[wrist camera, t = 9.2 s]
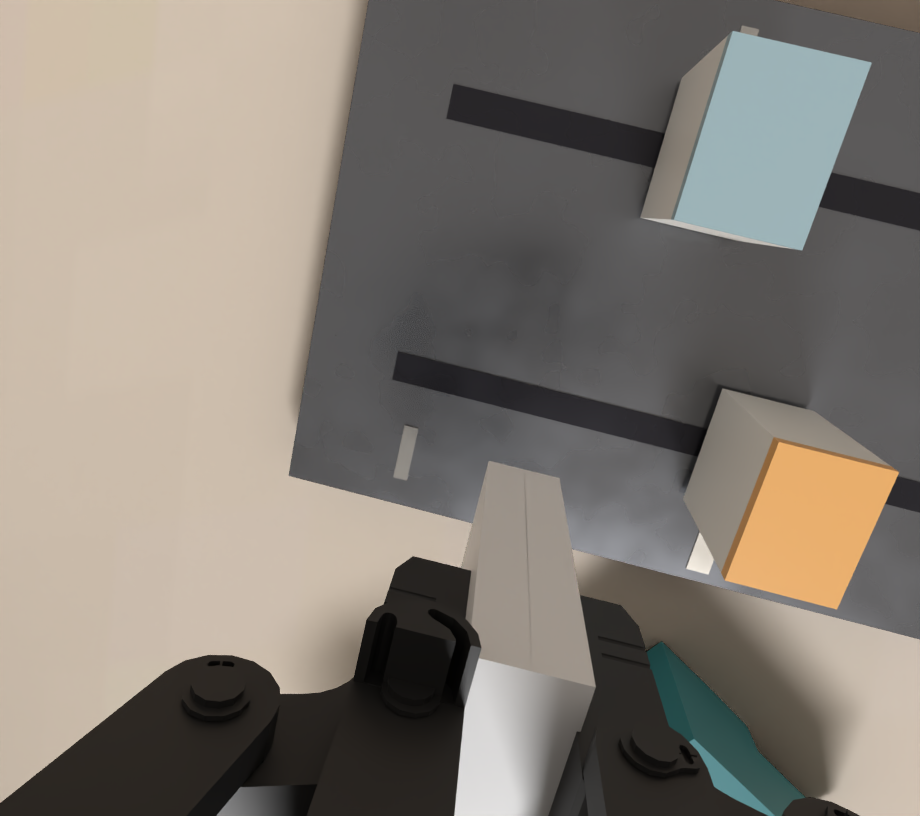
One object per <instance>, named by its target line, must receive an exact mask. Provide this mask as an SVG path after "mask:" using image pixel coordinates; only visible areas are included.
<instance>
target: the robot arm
mask: <svg viewBox="0 0 920 816" xmlns="http://www.w3.org/2000/svg"><path fill="white" fill-rule="evenodd" d="M644 650H645V646H644V642H643V639H642V636H641V633H640V629H639V626H638V625H637V624H636V623H635V622H634V620H633V619H632V618H631V617H630V616H629V614H628V613H627V612H626V611H625V610H624V609H623V607H622V606H621V605H617V604H613V603H609V602H605V601H601V600H597V599H593V598H589V597H585V596H581V595H580V593H579V588H578V582H577V576H576V570H575V564H574V559H573V553H572V547H571V541H570V536H569V530H568V524H567V518H566V513H565V507H564V501H563V495H562V490H561V484H560V478H557V477H553V476H549V475H545V474H541V473H537V472H533V471H529V470H525V469H521V468H517V467H512V466H508V465H504V464H500V463H496V462H492V461H489V462H488V466H487V470H486V474H485V477H484V481H483V485H482V489H481V493H480V497H479V501H478V504H477V508H476V512H475V516H474V520H473V524H472V528H471V531H470V535H469V539H468V543H467V547H466V551H465V554H464V558H463V562H462V566H461V568H458V567H454V566H450V565H446V564H442V563H438V562H434V561H430V560H426V559H422V558H418V557H414V556H413V557H411V558H410V559H409V560H407V561H406V562H404V563H403V564H402V565H400V566H399V567H397V568H396V569H395V572H394V575H393V578H392V581H391V584H390V587H389V590H388V593H387V596H386V599H385V602H384V605H382V606H380V607H377V608H375V610H374V611H373V612H372V613H371V615H370V616H369V617H368V619H367V620H366V625H365V629H364V634H363V639H362V643H361V648H360V652H359V657H358V661H357V666H356V670H355V675H354V677H353V678H352V679H351V680H350V681H349V682H347V683H345V684H343V685H341V686H339V687H338V688H335V689H332V690H328V691H324V692H321V693H310V694H280V687H279V686H278V684H277V683H276V681H275V679H274V678H273V676H272V675H271V673H270V672H269V671H267V670H266V669H264V668H263V667H261V666H260V665H258V664H257V663H255V662H254V661H250V660H246V659H243V658H239V657H236V656H232V655H207V656H202V657H198V658H194V659H190V660H185V661H183V662H182V663H180V664H178V665H176V666H174V667H173V668H171V669H169V670H167V671H165V672H164V673H163V674H162V675H160V676H159V677H158V678H157V679H155V680H154V681H153V682H152V683H150V684H149V685H148V686H147V687H145V688H144V689H143V690H142V691H140V692H139V693H138V694H137V695H135V696H134V697H133V698H132V699H130V700H129V701H128V702H127V703H125V704H124V705H123V706H122V707H120V708H119V709H118V710H117V711H115V712H114V713H113V714H111V715H110V716H109V717H108V718H106V719H105V720H104V721H103V722H101V723H100V724H99V725H98V726H96V727H95V728H94V729H93V730H91V731H90V732H89V733H88V734H86V735H85V736H84V737H83V738H81V739H80V740H79V741H78V742H76V743H75V744H74V745H73V746H71V747H70V748H69V749H68V750H66V751H65V752H64V753H63V754H61V755H60V756H59V757H58V758H56V759H55V760H54V761H53V762H51V763H50V764H49V765H48V766H46V767H45V768H44V769H43V770H41V771H40V772H39V773H37V774H36V775H35V776H34V777H32V778H31V779H30V780H29V781H27V782H26V783H25V784H24V785H22V786H21V787H20V788H19V789H17V790H16V791H15V792H14V793H12V794H11V795H10V796H9V797H7V798H6V799H5V800H4V801H2V802H1V803H0V816H768V815H766V814H764V813H762V812H760V811H758V810H756V809H754V808H752V807H750V806H748V805H746V804H744V803H742V802H740V801H738V800H736V799H734V798H732V797H730V796H729V795H727V794H725V793H723V792H722V791H720V790H718V789H717V788H715V787H714V785H713V782H712V779H711V776H710V773H709V771H708V768H707V766H706V764H705V763H704V761H703V759H702V757H701V756H700V754H699V752H698V751H697V750H696V749H695V748H694V747H693V746H692V745H691V744H690V742H689V741H688V740H687V739H686V738H685V737H684V736H683V735H681V734H680V733H678V732H677V731H675V730H674V729H672V728H671V727H669V725H668V721H667V718H666V715H665V711H664V708H663V705H662V702H661V698H660V695H659V692H658V688H657V685H656V682H655V679H654V675H653V672H652V670H651V669H650V662H649V659H648V656H647V652H646V651H644ZM782 816H859V815H857V814H856V813H854V812H852V811H850V810H848V809H845V808H844V807H841V806H839V805H837V804H835V803H833V802H829V801H825V800H820V799H816V798H811V797H807V798H801V799H795V800H793V801H792V802H791V803H790V804H789V805H788V806H787V808H786V809H785V810H784V812H783V814H782Z"/></svg>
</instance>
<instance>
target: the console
mask: <svg viewBox="0 0 920 816" xmlns="http://www.w3.org/2000/svg"><path fill="white" fill-rule="evenodd" d="M732 31H736V32H740V33H744V34H749V35H753V36H758V37H762V38H766V39H771V40H775V41H779V42H784V43H788V44H793V45H797V46H801V47H806V48H810V49H814V50H819V51H823V52H828V53H832V54H836V55H841V56H845V57H850V58H854V59H858V60H863V61H867V62H871V63H872V64H871V66H870V69H869V72H868V74H867V77H866V80H865V82H864V85H863V88H862V91H861V93H860V96H859V99H858V101H857V104H856V107H855V109H854V112H853V115H852V118H851V120H850V123H849V126H848V128H847V131H846V134H845V136H844V139H843V142H842V145H841V147H840V150H839V153H838V155H837V158H836V161H835V164H834V166H833V169H832V172H831V174H830V177H829V180H828V182H827V185H826V188H825V191H824V193H823V196H822V199H821V201H820V204H819V207H818V209H817V212H816V215H815V218H814V220H813V223H812V226H811V228H810V231H809V234H808V236H807V239H806V242H805V245H804V247H803V250H796V249H789V248H782V247H775V246H769V245H762V244H755V243H748V242H741V241H735V240H731V239H727V238H723V237H719V236H714V235H710V234H706V233H702V232H698V231H694V230H689V229H685V228H681V227H677V226H673V225H668V224H664V223H660V222H656V221H652V220H648V219H643V218H640V217H641V213H642V210H643V207H644V203H645V200H646V196H647V193H648V190H649V186H650V183H651V180H652V176H653V173H654V170H655V166H656V163H657V159H658V156H659V153H660V149H661V146H662V143H663V139H664V136H665V132H666V129H667V126H668V122H669V119H670V116H671V112H672V109H673V106H674V102H675V99H676V95H677V92H678V89H679V85H680V82H681V79H682V77H683V76H684V75H685V74H686V73H688V72H689V71H690V70H691V69H692V68H693V67H694V66H695V65H696V64H697V63H698V62H700V61H701V60H702V59H703V58H704V57H705V56H706V55H707V54H708V53H709V52H710V51H711V50H713V49H714V48H715V47H716V46H717V45H718V44H719V43H720V42H721V41H722V40H723V39H725V38H726V37H727V36H728V35H729V34H730V33H731V32H732ZM722 388H723V389H727V390H731V391H735V392H739V393H743V394H747V395H751V396H755V397H759V398H763V399H767V400H771V401H775V402H779V403H783V404H787V405H791V406H796V407H800V408H804V409H808V410H812V411H815V412H816V413H818V414H819V415H820V416H822V417H823V418H825V419H826V420H827V421H829V422H830V423H832V424H833V425H834V426H836V427H837V428H839V429H840V430H841V431H843V432H844V433H845V434H847V435H848V436H850V437H851V438H852V439H854V440H855V441H857V442H858V443H859V444H861V445H862V446H864V447H865V448H866V449H868V450H869V451H871V452H872V453H873V454H875V455H876V456H878V457H879V458H880V459H882V460H883V461H885V462H886V463H887V464H889V465H890V466H891V467H893V468H894V469H896V470H897V471H898V472H899V474H898V476H897V478H896V481H895V483H894V485H893V487H892V489H891V492H890V494H889V496H888V498H887V500H886V503H885V505H884V507H883V509H882V511H881V514H880V516H879V518H878V520H877V522H876V525H875V527H874V529H873V531H872V533H871V536H870V538H869V540H868V542H867V544H866V547H865V549H864V551H863V553H862V555H861V558H860V560H859V562H858V564H857V566H856V569H855V571H854V573H853V575H852V577H851V580H850V582H849V584H848V586H847V588H846V591H845V593H844V595H843V597H842V599H841V602H840V604H839V606H838V608H837V609H833V608H829V607H825V606H822V605H818V604H814V603H810V602H806V601H802V600H798V599H794V598H791V597H787V596H783V595H779V594H775V593H771V592H767V591H764V590H760V589H756V588H752V587H748V586H744V585H740V584H737V583H733V582H729V581H725V580H724V578H723V576H722V574H721V572H720V570H719V568H718V566H717V564H716V562H715V560H714V558H713V556H712V554H711V553H710V551H709V549H708V547H707V545H706V543H705V541H704V539H703V537H702V535H701V533H700V531H699V529H698V527H697V525H696V523H695V521H694V519H693V517H692V515H691V513H690V511H689V510H688V508H687V506H686V504H685V502H684V500H683V498H684V495H685V492H686V489H687V486H688V484H689V481H690V478H691V475H692V472H693V470H694V467H695V464H696V461H697V458H698V456H699V453H700V450H701V447H702V444H703V442H704V439H705V436H706V433H707V430H708V428H709V425H710V422H711V419H712V416H713V414H714V411H715V408H716V405H717V402H718V400H719V397H720V394H721V391H722ZM489 461H492V462H496V463H500V464H504V465H508V466H512V467H517V468H521V469H525V470H529V471H533V472H537V473H541V474H545V475H549V476H553V477H557V478H560V484H561V490H562V495H563V501H564V507H565V513H566V518H567V524H568V530H569V536H570V541H571V547H572V549H573V550H577V551H581V552H585V553H589V554H593V555H597V556H600V557H604V558H608V559H612V560H616V561H620V562H624V563H627V564H631V565H635V566H639V567H643V568H647V569H651V570H654V571H658V572H662V573H666V574H670V575H674V576H678V577H681V578H685V579H689V580H693V581H697V582H701V583H705V584H708V585H712V586H716V587H720V588H724V589H728V590H732V591H735V592H739V593H743V594H747V595H751V596H755V597H759V598H762V599H766V600H770V601H774V602H778V603H782V604H786V605H789V606H793V607H797V608H801V609H805V610H809V611H813V612H816V613H820V614H824V615H828V616H832V617H836V618H840V619H843V620H847V621H851V622H855V623H859V624H863V625H867V626H870V627H874V628H878V629H882V630H886V631H890V632H894V633H897V634H901V635H905V636H909V637H913V638H917V639H920V33H917V32H913V31H908V30H904V29H899V28H895V27H890V26H886V25H882V24H877V23H873V22H868V21H864V20H859V19H855V18H851V17H846V16H842V15H837V14H833V13H828V12H824V11H820V10H815V9H811V8H806V7H802V6H797V5H793V4H789V3H784V2H780V1H775V0H369V1H368V7H367V13H366V19H365V25H364V31H363V37H362V43H361V49H360V55H359V61H358V67H357V73H356V79H355V84H354V90H353V96H352V102H351V108H350V114H349V120H348V126H347V132H346V138H345V144H344V150H343V156H342V162H341V168H340V174H339V180H338V186H337V192H336V198H335V203H334V209H333V215H332V221H331V227H330V233H329V239H328V245H327V251H326V257H325V263H324V269H323V275H322V281H321V287H320V293H319V299H318V305H317V311H316V316H315V322H314V328H313V334H312V340H311V346H310V352H309V358H308V364H307V370H306V376H305V382H304V388H303V394H302V400H301V406H300V412H299V418H298V424H297V430H296V435H295V441H294V447H293V453H292V459H291V465H290V471H289V476H292V477H296V478H300V479H303V480H307V481H311V482H315V483H319V484H323V485H327V486H330V487H334V488H338V489H342V490H346V491H350V492H354V493H357V494H361V495H365V496H369V497H373V498H377V499H381V500H384V501H388V502H392V503H396V504H400V505H404V506H408V507H411V508H415V509H419V510H423V511H427V512H431V513H435V514H438V515H442V516H446V517H450V518H454V519H458V520H462V521H465V522H469V523H473V520H474V516H475V512H476V508H477V504H478V501H479V497H480V493H481V489H482V485H483V481H484V477H485V474H486V470H487V466H488V462H489Z"/></svg>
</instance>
